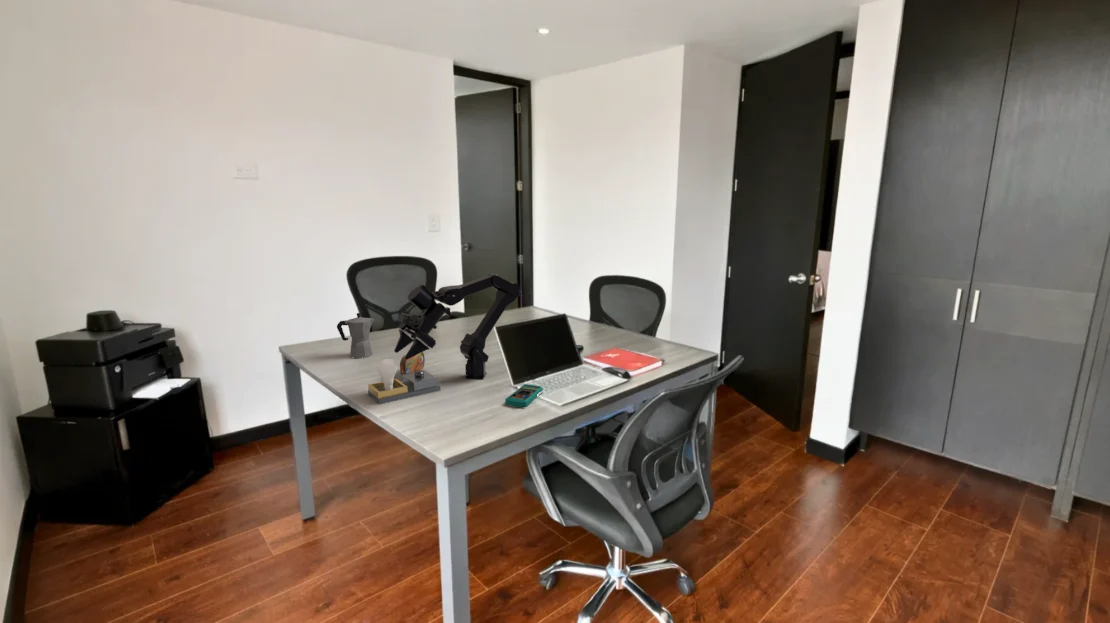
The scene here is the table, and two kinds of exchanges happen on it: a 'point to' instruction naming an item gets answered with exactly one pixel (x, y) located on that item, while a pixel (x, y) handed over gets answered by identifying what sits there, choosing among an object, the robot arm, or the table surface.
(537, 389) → the digital multimeter
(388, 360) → the lightbulb
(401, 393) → the grey base with tray
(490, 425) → the table surface
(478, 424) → the table surface
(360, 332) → the coffeepot
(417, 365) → the tin
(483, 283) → the robot arm
